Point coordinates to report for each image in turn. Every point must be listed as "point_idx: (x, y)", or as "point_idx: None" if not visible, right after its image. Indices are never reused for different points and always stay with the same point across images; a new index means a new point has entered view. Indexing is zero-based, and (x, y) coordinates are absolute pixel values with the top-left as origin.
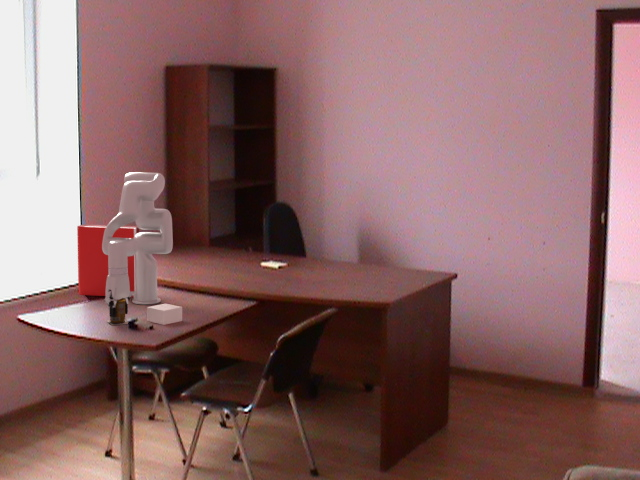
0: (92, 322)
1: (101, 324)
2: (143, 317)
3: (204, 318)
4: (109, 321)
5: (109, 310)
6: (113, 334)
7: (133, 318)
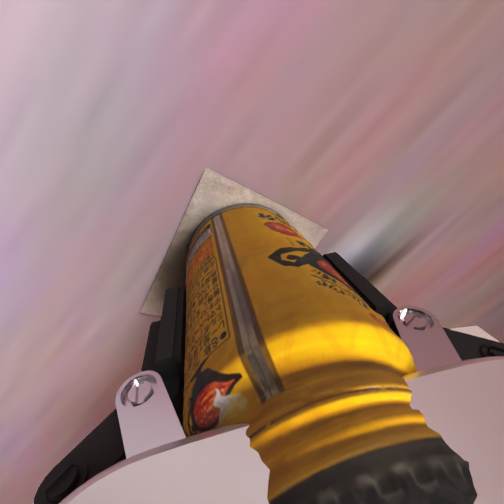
0: (66, 99)
1: (99, 234)
2: (435, 260)
3: None
4: (208, 207)
5: (160, 324)
6: (25, 465)
7: (388, 240)
